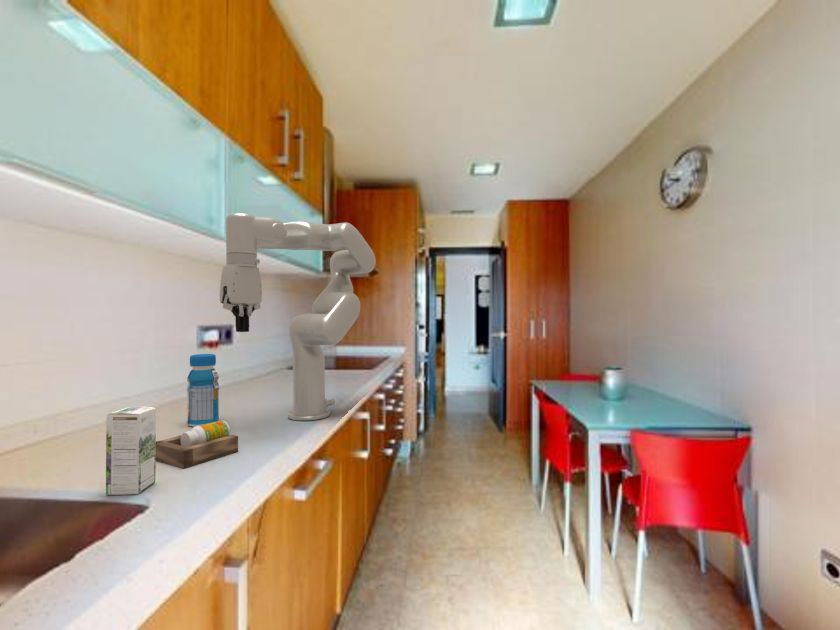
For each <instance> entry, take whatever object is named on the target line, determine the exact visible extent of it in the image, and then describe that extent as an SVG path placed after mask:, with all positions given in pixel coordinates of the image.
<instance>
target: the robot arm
mask: <svg viewBox="0 0 840 630" xmlns="http://www.w3.org/2000/svg"><path fill="white" fill-rule="evenodd" d="M225 239H226V240H225V241H226V242H225V249H226V250H225V253H226V255H225V257H226V259H225V260H226V261H225V262H226V264H225V265H224V266H223V267H222V270H221V276H220V282H219V283H220V284H219V285H220V286H219V302H220V303H221V304H222V309H224V310H228V311H230V312H231V313H232V316H233V317H235V331H236V333H247V332H248V333H249V332H250V317H251V316H252V314H253V312H254V311H257V310H260V309H261V303H262V300H263V289H262V278H261V273H260V268H259V267H258V265H260V259H258V250H259V249H261V250H288V251H289V250H290V251H320V252H321V251H324V252H334V251H336V252H334V253H333V254H332V255H331V257H330V260H329V270H330V282H329V283H328V284H327V286H326V287H325V288H324V289H323V290H322V292H321V293H319V295H318V296H317V297H316V299H315V300H314V302H313V303H312V306H311V312H312V313H302V314H298V315H296V316H295V317H293V318H292V320H291V321H290V322H289V323H290V324H289V328H288V330H289V331H288V332H289V338H290V343H291V350H292V383H293V384H292V385H293V386H292V390H293V391H292V392H293V395H292V404H293V405H292V406H293V408H292V410H291V411H289V412H288V413H287V418H289V420H293V421H314V420H315V421H316V420H321V419H325V418H328V417H330V416H331V411H330V409H328V407H329V406H334V405H335V404H336V403H335V399H333V398H330V399H326V386H325V385H326V382H325V381H326V378H325V376H326V375H325V374H326V373H325V372H326V371H325V369H326V368H325V367H326V359H325V355H324V352H323V349H322V347H321V346H334V345H337V344H338V343H340V341H342V340H343V339H344V337H345V336H346V335H347V333H348V332H349V330H350V329H351V328H352V326H353V325H354V324H355V322H356V321H357V319H358V317H359V315H360V313H361V301H360V298H359V297H358V296H357V295H356V294H355V293H354V286H353V283H352V280H351V277H350V275H359V274H360V275H363V274H368V273H371V272H373V270H375V267H376V264H377V261H376V256H375V253H374V251H373V249H372V248H371V247H370V245H369V244H368V242H367V241H366V239H365V238H364V236H363V235H362V234H361V232H359V230H358V229H357V228H356V227H355V226H354V225H353V224H351V223H350V222H339V223H331V224H328V223H327V224H326V223H319V222H318V223H317V222H311V221H310V222H309V221H291V222H285V223H283V221H281V220H279V219H278V218H275V217H268V216H267V217H265V216H264V217H263V216H255V215H252V214H250V213H245V212H233V213H229V214H228V215H226V218H225Z"/></svg>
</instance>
